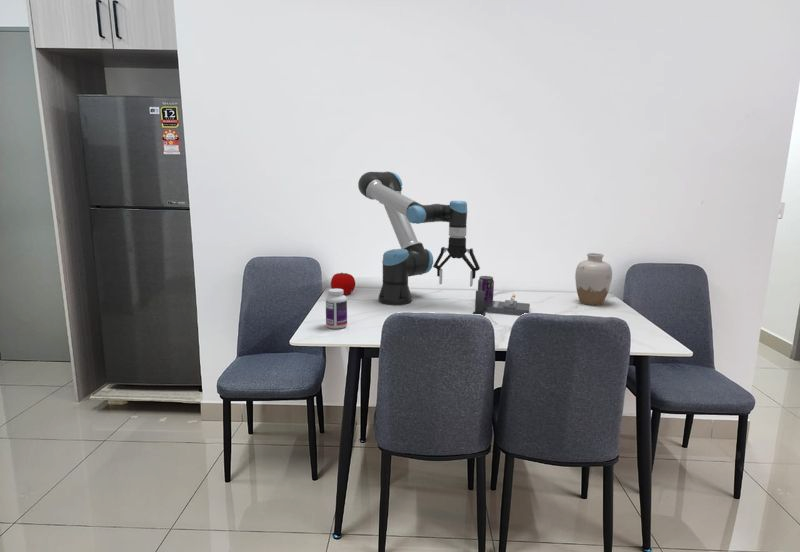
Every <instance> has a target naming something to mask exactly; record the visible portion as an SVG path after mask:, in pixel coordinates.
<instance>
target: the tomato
mask: <svg viewBox="0 0 800 552" xmlns="http://www.w3.org/2000/svg"><path fill="white" fill-rule="evenodd" d="M355 288H356V279H355V277H354V276H353V275H352V274H349V273H346V272H340V273H339V272H337V273H335V274H333V275H332V277H331V279H330V289H343V295H344V296H346V295H350V294H351V293H352V292H353V291H354V290H355Z"/></svg>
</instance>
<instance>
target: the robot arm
mask: <svg viewBox="0 0 800 552" xmlns="http://www.w3.org/2000/svg"><path fill="white" fill-rule="evenodd" d="M357 185H358V190H359V192H360V193H361V195H362V196H364V197H365V198H366V199H367V198H368V199H369V200H372V201H373V200H376V201H378V203H380V204H381V205H383V206H384V209H385V211H386V215H387V217H388V219H389V221H390V224H391V226H392V229H393V232H394V234H395V236H396V239H397V241H398V244H399V247H400V248H395V249H389V250H386V251H384V252H383V255H382V261H381V263H382V285H381V287H380V291H379V294H378V302H379V303H380V304H383V305H384V304H385V305H391V306H392V305H393V306H399V305H401V306H403V305H407V304H409V303H410V304H411V302H412V300H413V299H412V298H413V297H412V294H411V290H410V287H409V277H414V276H421V275H425V274H427V273H429V272H430V271H431V269H432V268H434V269H436V277H439V278H438V279H439V281H438V284H439V285H442V284H443V268H442V267H444V265H445V264H446V263H447V262H448V261H449V260H450V259H451V258H452V259H462V260H463V261H464V263H466V265H467V266H468V267H469V269H470V270H471V271H470V277H469V279H470V280H469V287H473V284H474V280H475V278H476V272H477V271H479V270H480V269H481V267H480V264H479V262H478V261H477V259H476V256H475V253H474V248H473V247H471V248H467V238H466V237H467V228H468V227H467V221H468V219H467V218H468V202H467V201H465V200H451V201H449V204H441V203H431V204H422V203H419V202H417V201H416V200H414V199H411V198H410V197H408V196H406V195H404V194H402V190H403V181H402V179H401V177H400V175H398V174H397V173H396V172H392V171H367V172H365V173H364V174H362V175H361V176H360V177H359V180H358V183H357ZM436 222H437V223H439V222H442V223H448V245H447V246H448V247H445V246H442V247H441V248H440V253H439V255H438V257H437V258H436V260H435V261H434V256H433V253H432V252H431V251H430V250H429V249H427V248H425V247H424V244H423V243H422V242H421V241H418V238H417V236H416V234H415V231H414V228H413V226H412V224H416V225H418V224H427V223H436ZM446 252H448V255H447V256H446V257H445V259H444V260H443V261H441V259H442V258H443V255H444V253H446ZM466 253H468V254H469V256H470V258H471V260H472V262H473V263H472V262H471V261H470V259H469V258H468V256H467V255H466ZM440 261H441V263H440ZM439 263H440V264H439Z"/></svg>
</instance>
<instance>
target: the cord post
mask: <svg viewBox="0 0 800 552" xmlns="http://www.w3.org/2000/svg"><path fill="white" fill-rule="evenodd" d="M484 293H485V291H481V290H478V289H477V290H475V300H474V301H475V302H474V304H475V306H474V311H473V312H472V315H473V314H481V315H484V316H486V313H485V312H484ZM484 316H483V317H484Z"/></svg>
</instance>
